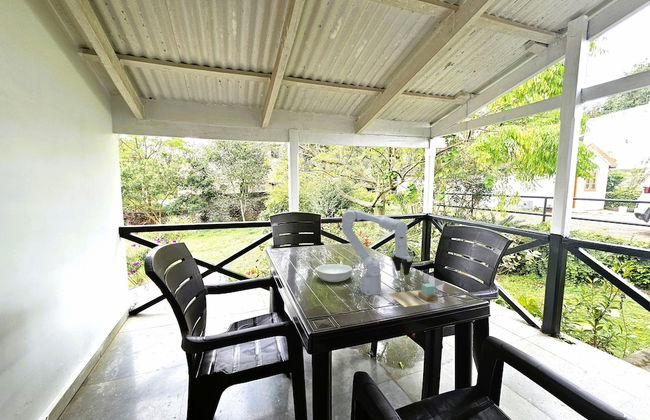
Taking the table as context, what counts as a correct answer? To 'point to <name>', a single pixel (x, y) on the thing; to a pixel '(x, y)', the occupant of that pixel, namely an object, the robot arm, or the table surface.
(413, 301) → the build board
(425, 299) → the walnut slab
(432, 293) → the teal block
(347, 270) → the serving bowl
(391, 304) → the table surface
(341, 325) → the table surface
